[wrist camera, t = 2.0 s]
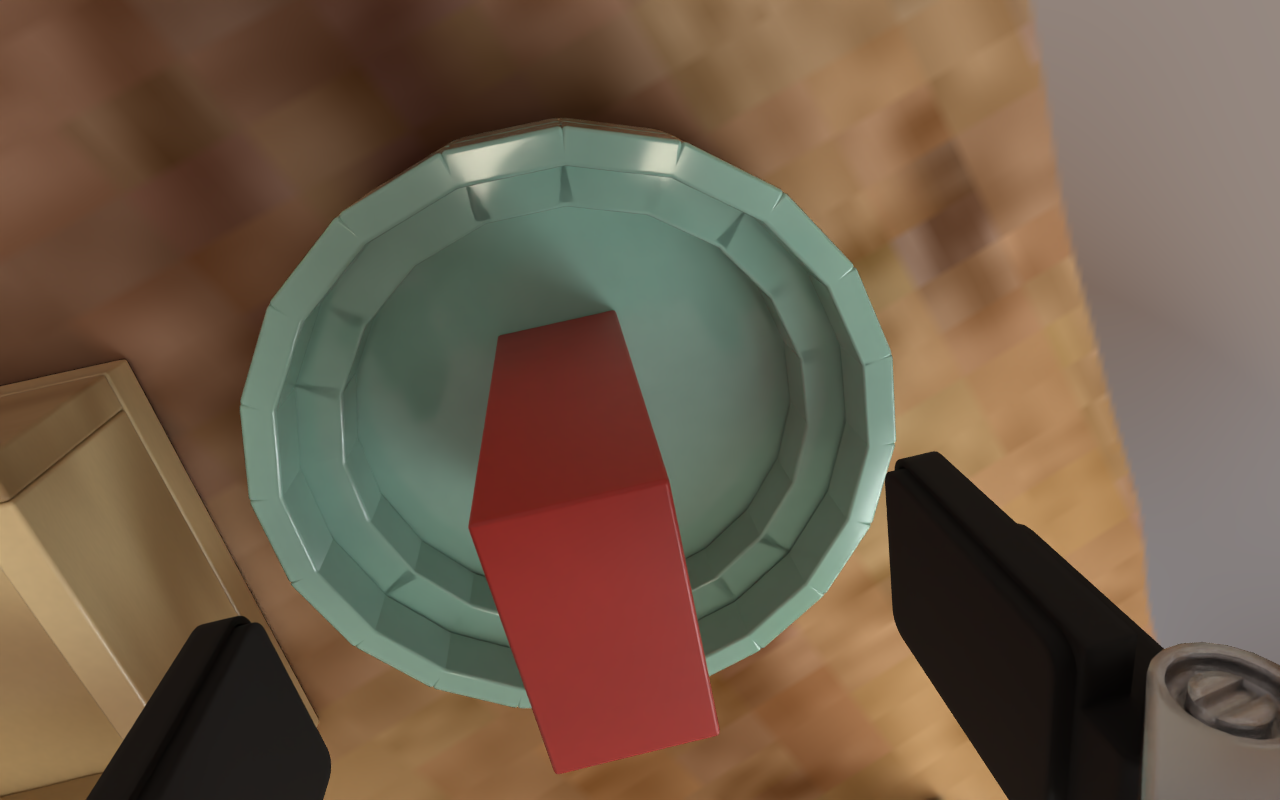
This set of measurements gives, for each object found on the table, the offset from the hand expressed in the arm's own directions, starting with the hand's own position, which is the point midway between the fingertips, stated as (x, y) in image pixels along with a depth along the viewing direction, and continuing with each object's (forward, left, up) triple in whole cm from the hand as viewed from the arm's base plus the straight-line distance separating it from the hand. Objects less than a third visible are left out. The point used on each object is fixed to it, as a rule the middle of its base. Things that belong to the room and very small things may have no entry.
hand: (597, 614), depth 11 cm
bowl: (0, 0, -7) cm, 7 cm away
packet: (0, 0, -6) cm, 6 cm away
